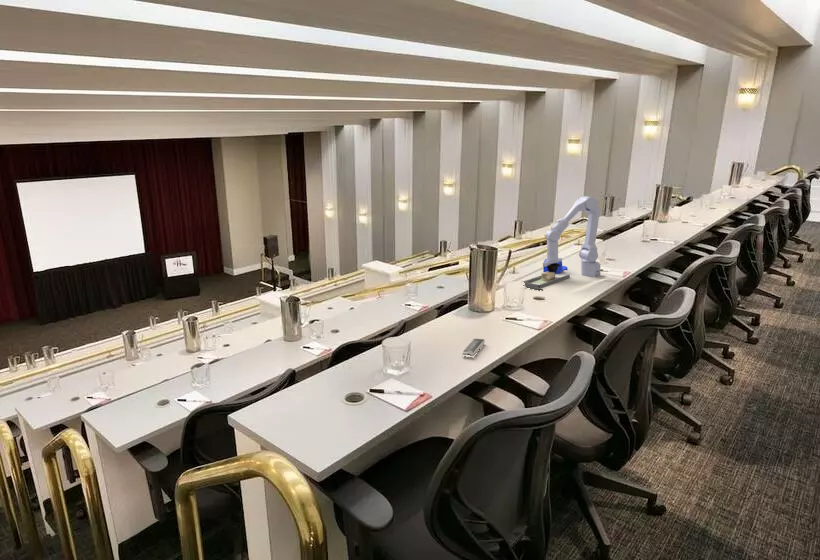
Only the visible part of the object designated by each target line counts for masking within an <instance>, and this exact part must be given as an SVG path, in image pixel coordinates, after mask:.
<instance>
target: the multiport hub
mask: <svg viewBox="0 0 820 560" xmlns="http://www.w3.org/2000/svg"><path fill="white" fill-rule="evenodd" d="M485 340H486V339H483V338H473V339H472V340H471V342H470V343H469V344H468V345H467V346H466V347H465V348H464V349H463V351H462V353H461V354H462V355H470V356H474V355H475V354H476V353H477V352H478V350H479V349H480V348H481V347H482V346H483V345H484V343H485V344H486V342H485ZM484 346H485V345H484ZM484 346H483V347H484ZM483 347H482V348H483ZM478 353H479V352H478Z"/></svg>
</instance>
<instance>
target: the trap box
mask: <svg viewBox="0 0 820 560" xmlns="http://www.w3.org/2000/svg"><path fill="white" fill-rule="evenodd" d="M570 276H571V275H570V274H566V275H564V276H561V277H560V276H559V277H558V276H555V279H554V280H551V281H549V282H547V281H541V275H539V276H535V277H532V278H530V279H526V280H524V281H522V282H524V283H525V285H526V287H527V288H530V289H529V290H532V289H534V290H533V291H537V290H538V292H540V290H541V291H543V288H544V287H547V286H550V285H552V284H556V283H558V282H561V281H563V280H567V279H569V278H571V277H570ZM525 285H524V286H525Z"/></svg>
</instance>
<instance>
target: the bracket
mask: <svg viewBox="0 0 820 560" xmlns="http://www.w3.org/2000/svg"><path fill="white" fill-rule="evenodd" d="M546 260H547V258H545V259H544V261H543V263H544V262H545V261H546ZM557 264H559V267H558V268H557V271H556V275H558V274H560V273H562V272H564V271H568V266H566V265H563V261H562V262H558V263H557ZM542 268H543V272H542V273H544V272H549V270H548V268H547V267H545V266H543V265H542Z"/></svg>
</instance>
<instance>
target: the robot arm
mask: <svg viewBox="0 0 820 560" xmlns="http://www.w3.org/2000/svg"><path fill="white" fill-rule="evenodd" d="M598 203H599V201H598V200H597V199H596V198H595V197H594V196H586V195H581V196H579V197H578V199H576V200H575V202H574V204H573V205H572V207H571V208H570V209H569V210H568V212H567V213H566V214H565V216H564V217H562V218H559V219H557V220H556V223H555V224H554V225H553V226H551V228H550V229H548V230H547V231H546V232H545V234H544V238H545V239H546V259H547V260H546V261H545V260H544V261H545V262H544V261H543V262H542V267H543V266H545V267H547V268H548V270H549V272H554V273H555V276H556V275H557V274H556V271H557V268H558V267H559V264H557V263H558V262H562V263H563V258H562V257H559V240H560V238H561V235H562V234H563V233H564V232H565V230H566V229H567V228H568V227H569V222H570V221H572V219H574V217H575V216H576V215H577V214H578V213H579V212H582V211H585V212H586V213H587V214H588V216H587V222H586V223H587V224H586V231H585V237H584V243H583V244H581V247H580V250H579V253H578V255H579V258H580V260H581V262H580V263H581V266H580V267H581V269H580V271H581V272H580V273H581V275H582V276H585V277H592V278H595V277H599V276H601V263H600V262H597V260H598V258H599V254H598V247H597V244H596V240H597V234H598V226H599V220H600V212H601V210H600V207H599V205H598Z"/></svg>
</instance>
